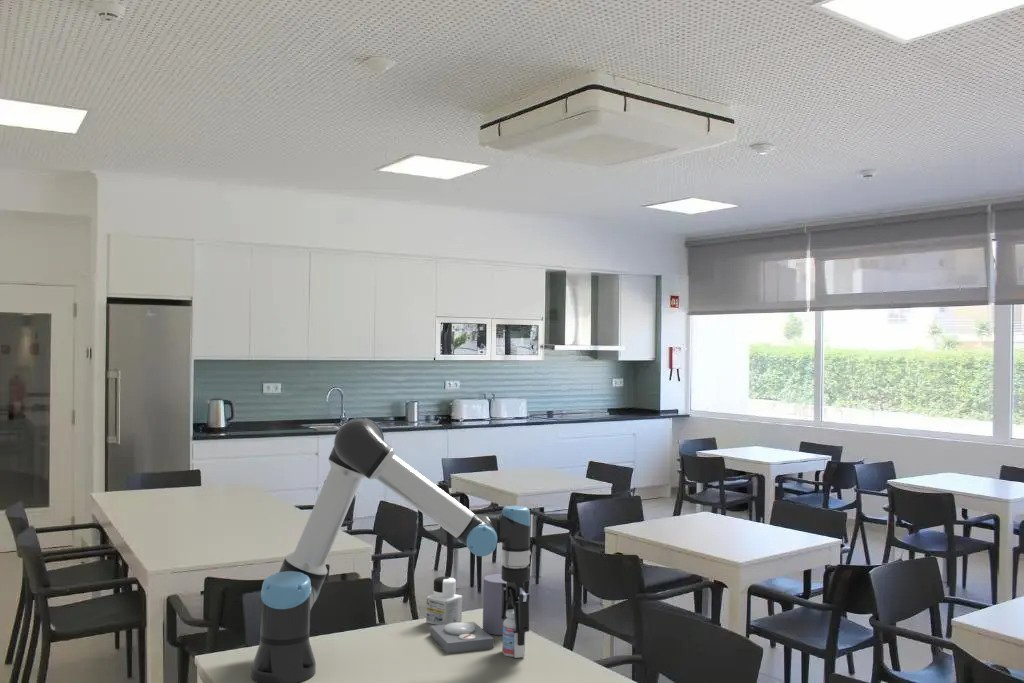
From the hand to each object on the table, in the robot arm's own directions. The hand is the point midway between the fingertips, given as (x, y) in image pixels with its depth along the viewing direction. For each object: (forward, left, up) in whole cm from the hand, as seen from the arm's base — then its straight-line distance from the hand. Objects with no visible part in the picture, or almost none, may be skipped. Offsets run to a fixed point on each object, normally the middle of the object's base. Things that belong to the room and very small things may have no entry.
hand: (514, 652), depth 225 cm
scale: (-10, +14, 0) cm, 17 cm away
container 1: (-9, +33, -1) cm, 34 cm away
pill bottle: (0, 0, -1) cm, 1 cm away
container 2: (+4, +20, -1) cm, 20 cm away
